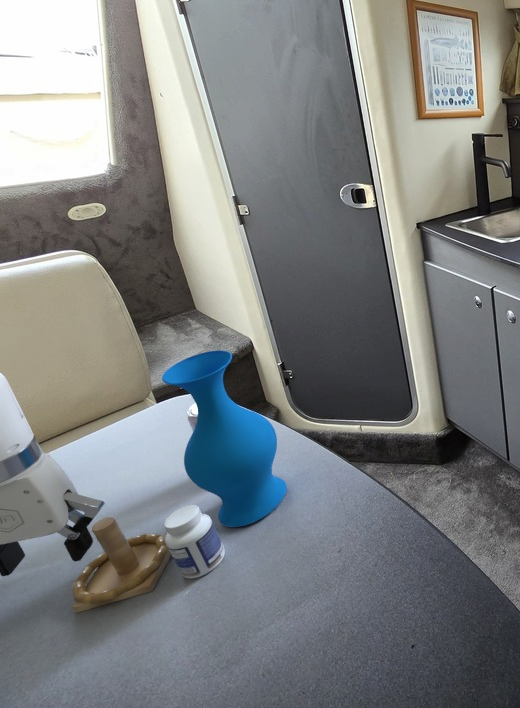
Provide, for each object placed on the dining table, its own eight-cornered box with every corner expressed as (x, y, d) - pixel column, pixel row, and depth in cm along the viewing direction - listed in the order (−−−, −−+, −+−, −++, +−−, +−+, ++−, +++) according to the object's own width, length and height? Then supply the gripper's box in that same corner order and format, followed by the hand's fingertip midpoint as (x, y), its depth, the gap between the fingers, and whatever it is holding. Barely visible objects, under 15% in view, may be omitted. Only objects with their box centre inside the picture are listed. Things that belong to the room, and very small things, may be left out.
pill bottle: (222, 540, 78) (201, 494, 75) (229, 562, 75) (207, 515, 71) (180, 563, 75) (155, 516, 71) (184, 587, 71) (159, 539, 67)
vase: (301, 467, 92) (256, 337, 81) (284, 522, 81) (229, 380, 70) (227, 486, 89) (169, 353, 78) (198, 546, 77) (127, 400, 67)
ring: (57, 616, 67) (53, 610, 66) (101, 550, 76) (97, 544, 76) (149, 589, 70) (145, 584, 69) (180, 529, 79) (178, 523, 79)
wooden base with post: (75, 613, 68) (41, 562, 65) (111, 556, 76) (83, 508, 73) (153, 590, 71) (124, 540, 67) (180, 538, 79) (156, 490, 75)
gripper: (-128, 500, 57) (-57, 603, 64) (63, 469, 62) (111, 567, 69) (-69, 454, 63) (-11, 551, 70) (99, 429, 69) (139, 522, 75)
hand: (49, 558), depth 69 cm, fingers open, 7 cm apart
